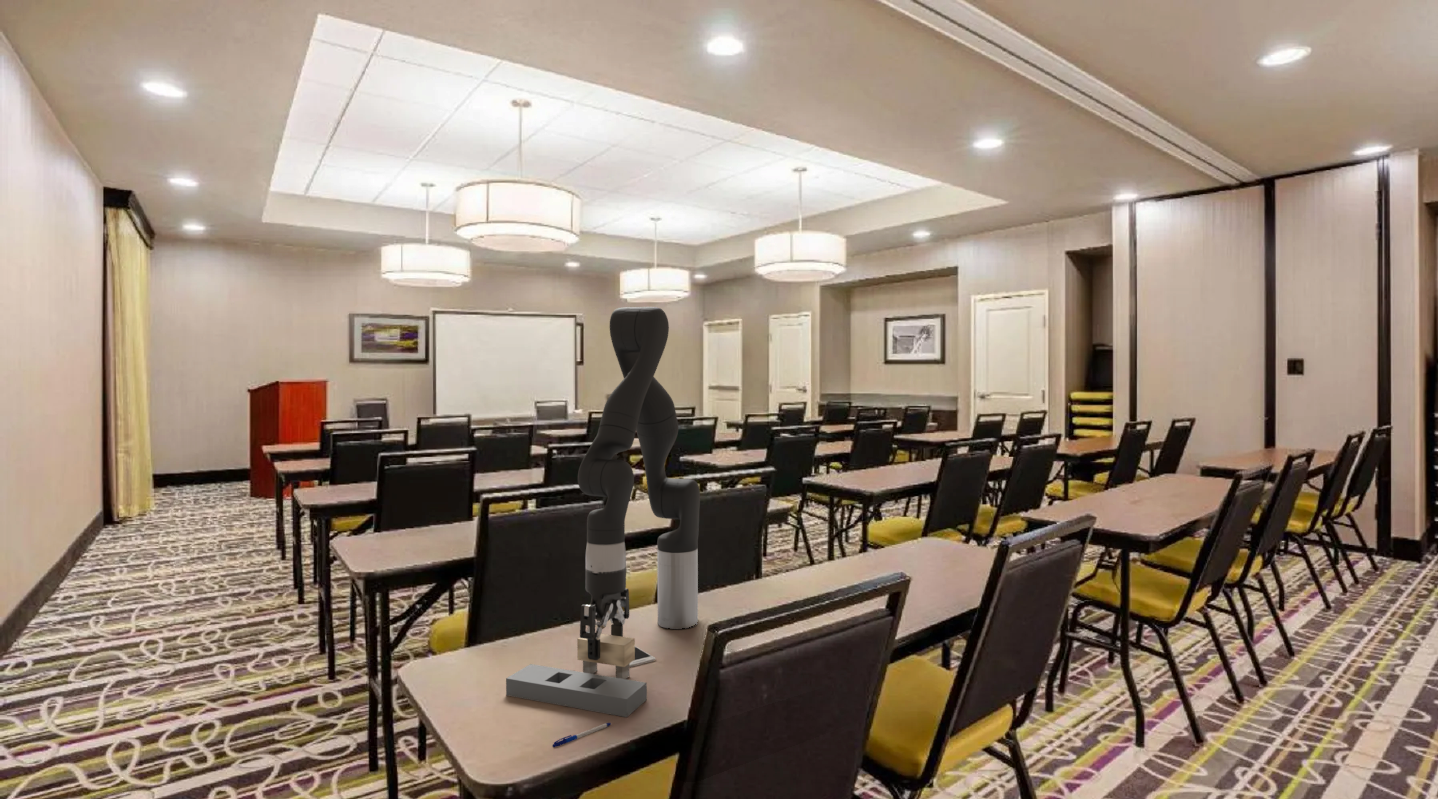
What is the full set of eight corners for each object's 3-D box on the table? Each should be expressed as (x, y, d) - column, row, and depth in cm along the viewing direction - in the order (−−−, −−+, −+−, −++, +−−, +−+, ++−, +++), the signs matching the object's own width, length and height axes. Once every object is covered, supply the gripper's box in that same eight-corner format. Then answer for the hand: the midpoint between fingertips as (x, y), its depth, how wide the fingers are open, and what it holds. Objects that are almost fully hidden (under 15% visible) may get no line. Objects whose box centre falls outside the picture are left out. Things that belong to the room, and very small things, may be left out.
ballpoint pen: (555, 749, 110) (554, 743, 110) (551, 748, 111) (551, 741, 111) (611, 726, 118) (611, 720, 118) (608, 724, 118) (607, 718, 118)
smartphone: (619, 640, 158) (619, 636, 158) (656, 662, 146) (656, 657, 146) (589, 647, 154) (589, 643, 154) (624, 670, 142) (624, 666, 142)
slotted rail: (506, 695, 129) (506, 678, 129) (530, 679, 136) (530, 663, 136) (626, 717, 121) (626, 699, 121) (646, 699, 127) (646, 682, 127)
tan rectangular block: (577, 675, 138) (577, 638, 138) (588, 668, 142) (588, 632, 142) (624, 683, 134) (624, 645, 134) (634, 675, 138) (634, 638, 138)
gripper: (607, 556, 146) (607, 637, 146) (567, 572, 132) (567, 661, 132) (641, 559, 143) (641, 642, 143) (604, 575, 130) (604, 667, 130)
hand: (605, 651), depth 138 cm, fingers open, 8 cm apart
